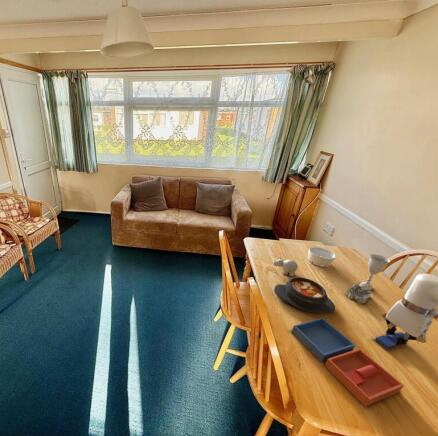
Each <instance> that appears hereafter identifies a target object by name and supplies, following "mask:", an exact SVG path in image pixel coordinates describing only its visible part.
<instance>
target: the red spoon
mask: <svg viewBox="0 0 438 436" xmlns="http://www.w3.org/2000/svg"><path fill="white" fill-rule="evenodd" d="M344 373H345V374H346V375H347V376H348V377H349V378H350V379H351V380H352V381H353V382H354V383H355V384H356V385H357V386H360V385H363V384H364V383H365V381H366V379H368V378H371V377H373V376H376V375H378V374H379V371H378V369H377V368H376V367H375V366H373V365H368V366H365V367H363V368H360V369H357V370H354V369H352V370H349V371H346V372H344Z"/></svg>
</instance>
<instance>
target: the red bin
mask: <svg viewBox="0 0 438 436" xmlns="http://www.w3.org/2000/svg"><path fill="white" fill-rule="evenodd" d="M368 365H373V366H375V367H376V368H377V369H378V371H379V374H378V375H376V376H373V377H371V378H368V379H366V381H365V383H364V384H363V385H360V386H357V385H356V384H355V383H354V382H353V381H352V380H351V379H350V378H349V377H348V376H347V375H346V374H345V373H344V372H346V371H349V370H352V369H354V370H357V369H360V368H363V367H365V366H368ZM324 367H326V368H327V370H328V371H330V372H331V374H332V375H333V376H334V377H335V378H336V379H337V380H338V381H339V382H340V383H341V384H342V385H344V387H345V388H346V389H347V390H348V391H349V392H350V393H351V394H352V395H353V396H354V397H355V398H356V399H357V400H358V401H359V402H360V403H361V404H362V405H363V406H364V407H367V406H370V405H372V404H375V403H377V402H379V401H382V400H384V399H387V398H389V397H391V396H394V395H396V394H398V393H400V392H401V390H402V389H403V388H404V387H405V385H404V383H402V382H401V381H400V380H398V379H397V378H396V377H395V376H394V375H392V374H391V373H390V372H389V371H388V370H386V369H385V368H384V367H383V366H381V365H380V364H379V363H378V362H377V361H376V360H374V359H373V358H372V357H370V355H368V354H367V353H366V352H365V351H363V350H362V349H361V348H356V349H353V350H352V351H350V352H347V353H344V354H341V355H338V356H335V357H332V358H329V359H328V360H326V361H325V363H324Z"/></svg>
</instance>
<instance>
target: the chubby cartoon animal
mask: <svg viewBox="0 0 438 436" xmlns="http://www.w3.org/2000/svg"><path fill="white" fill-rule="evenodd" d="M273 266H274V267H278V268H282V269H283V271H282V274H283V275H285V276H289V277H291V278H293V277H295V275H296V274H295V273H296V272H297V270H298V268H299V266H298V263H297V262H296V261H295V260H292V259H285V260H283V259H282V257H279V259H277V260H275V259H273Z"/></svg>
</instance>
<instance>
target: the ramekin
mask: <svg viewBox="0 0 438 436" xmlns="http://www.w3.org/2000/svg"><path fill="white" fill-rule="evenodd" d="M317 255H318V256H317ZM320 256H322V257H320ZM323 257H324V258H323ZM336 258H337V257H336V255H335V253H334V252H332V251H331V250H329V249H326V248H324V247H320V246H319V247H318V246H312V247H309V249H308V254H307V260H308V259H309V260H310V261H311V262H310V261H309V260H308V261H309V262H310V264H313V265H314V266H317V267H322V268H327V267H330V266H332V263H333V262H334V261H335V259H336ZM312 262H313V263H312ZM314 263H315V264H314ZM316 264H318V265H316ZM319 265H323V266H319ZM329 265H330V266H329ZM325 266H326V267H325Z"/></svg>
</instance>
